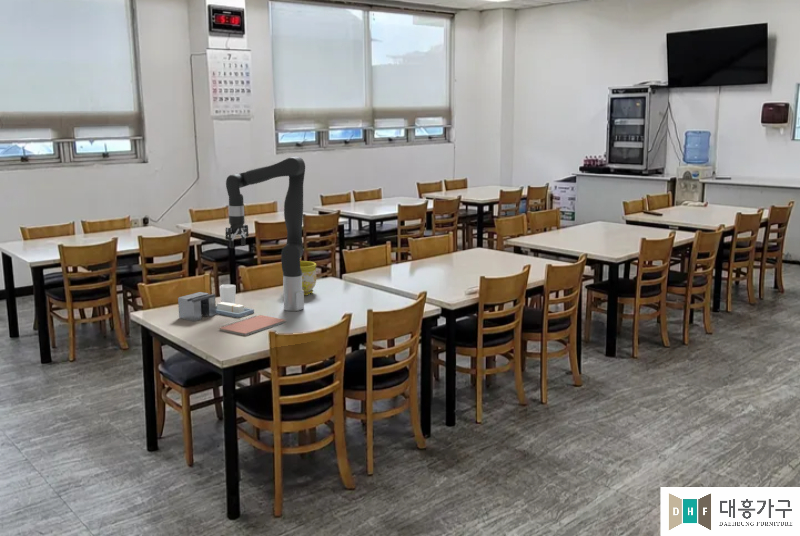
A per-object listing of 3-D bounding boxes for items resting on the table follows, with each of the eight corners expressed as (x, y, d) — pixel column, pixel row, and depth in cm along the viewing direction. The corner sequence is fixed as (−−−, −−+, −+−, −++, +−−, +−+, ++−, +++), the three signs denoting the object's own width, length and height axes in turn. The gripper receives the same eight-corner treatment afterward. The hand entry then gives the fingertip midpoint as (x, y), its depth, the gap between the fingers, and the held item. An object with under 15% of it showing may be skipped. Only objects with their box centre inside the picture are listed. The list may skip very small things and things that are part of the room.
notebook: (258, 318, 349) (258, 314, 349) (285, 323, 341) (285, 319, 340) (217, 331, 326) (217, 327, 326) (245, 337, 318) (245, 332, 317)
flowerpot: (323, 294, 397) (322, 264, 394) (294, 298, 386) (294, 268, 383) (305, 288, 411) (304, 259, 408) (277, 292, 399) (276, 263, 396)
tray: (254, 312, 356) (253, 309, 356) (238, 317, 347) (238, 314, 346) (223, 307, 366) (223, 303, 366) (207, 312, 357) (207, 308, 356)
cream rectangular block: (244, 312, 355) (244, 305, 354) (238, 314, 351) (238, 306, 350) (223, 308, 361) (222, 301, 361) (217, 310, 358) (216, 303, 357)
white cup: (228, 308, 365) (227, 288, 363) (216, 305, 369) (216, 286, 367) (239, 304, 372) (238, 285, 370) (228, 302, 376) (227, 283, 374)
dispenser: (215, 314, 352) (215, 294, 350) (194, 321, 340) (193, 299, 338) (200, 311, 357) (199, 291, 355) (179, 318, 345) (178, 297, 343)
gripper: (232, 216, 354) (233, 249, 358) (251, 213, 367) (252, 245, 370) (220, 215, 358) (221, 248, 361) (240, 212, 370) (241, 244, 373)
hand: (237, 246), depth 365 cm, fingers open, 8 cm apart
